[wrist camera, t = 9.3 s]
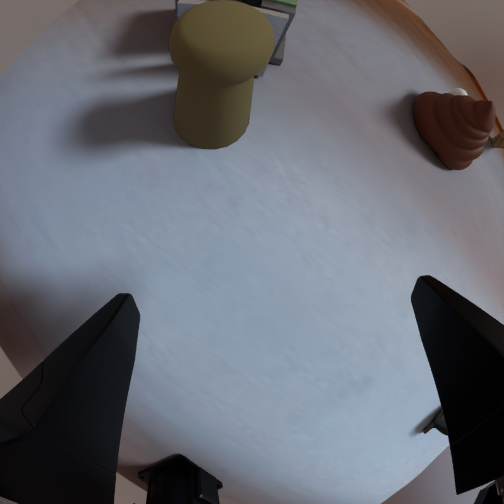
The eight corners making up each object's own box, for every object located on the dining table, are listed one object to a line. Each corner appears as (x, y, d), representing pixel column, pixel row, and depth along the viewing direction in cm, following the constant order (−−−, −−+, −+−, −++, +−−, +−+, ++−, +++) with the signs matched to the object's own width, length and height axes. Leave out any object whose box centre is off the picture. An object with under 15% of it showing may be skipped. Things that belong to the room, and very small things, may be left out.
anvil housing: (280, 65, 20) (307, 15, 13) (169, 49, 19) (164, -6, 12) (284, 22, 20) (307, -24, 13) (186, 8, 18) (188, -43, 11)
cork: (157, 113, 19) (132, 20, 8) (215, 72, 20) (232, -25, 9) (207, 165, 20) (217, 89, 9) (265, 119, 20) (316, 33, 10)
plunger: (262, 76, 20) (290, 15, 12) (180, 65, 19) (177, -1, 11) (267, 42, 20) (293, -18, 12) (192, 31, 19) (195, -32, 11)
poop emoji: (400, 122, 23) (463, 89, 14) (419, 83, 24) (471, 52, 14) (454, 186, 25) (517, 176, 16) (467, 141, 25) (519, 125, 16)
